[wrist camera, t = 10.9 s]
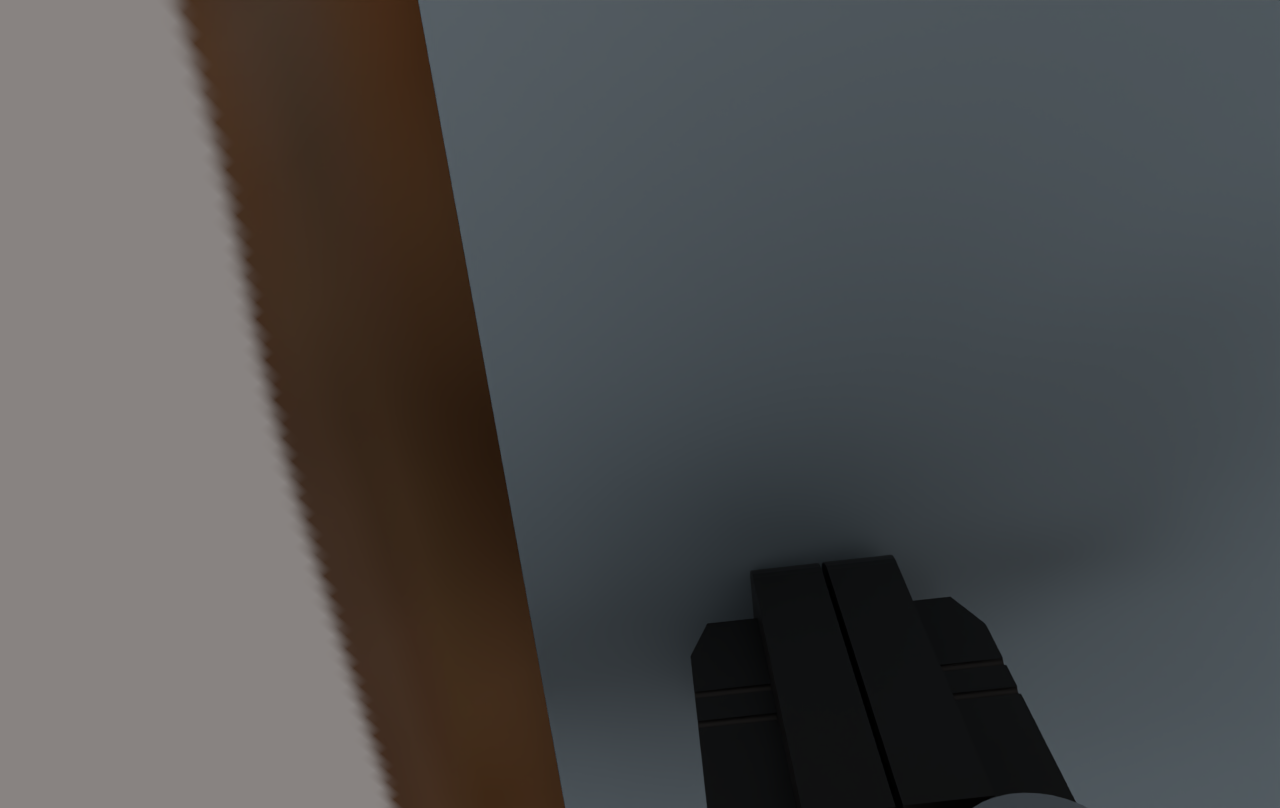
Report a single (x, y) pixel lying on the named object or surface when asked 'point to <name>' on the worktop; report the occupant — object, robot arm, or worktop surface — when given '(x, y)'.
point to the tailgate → (887, 351)
